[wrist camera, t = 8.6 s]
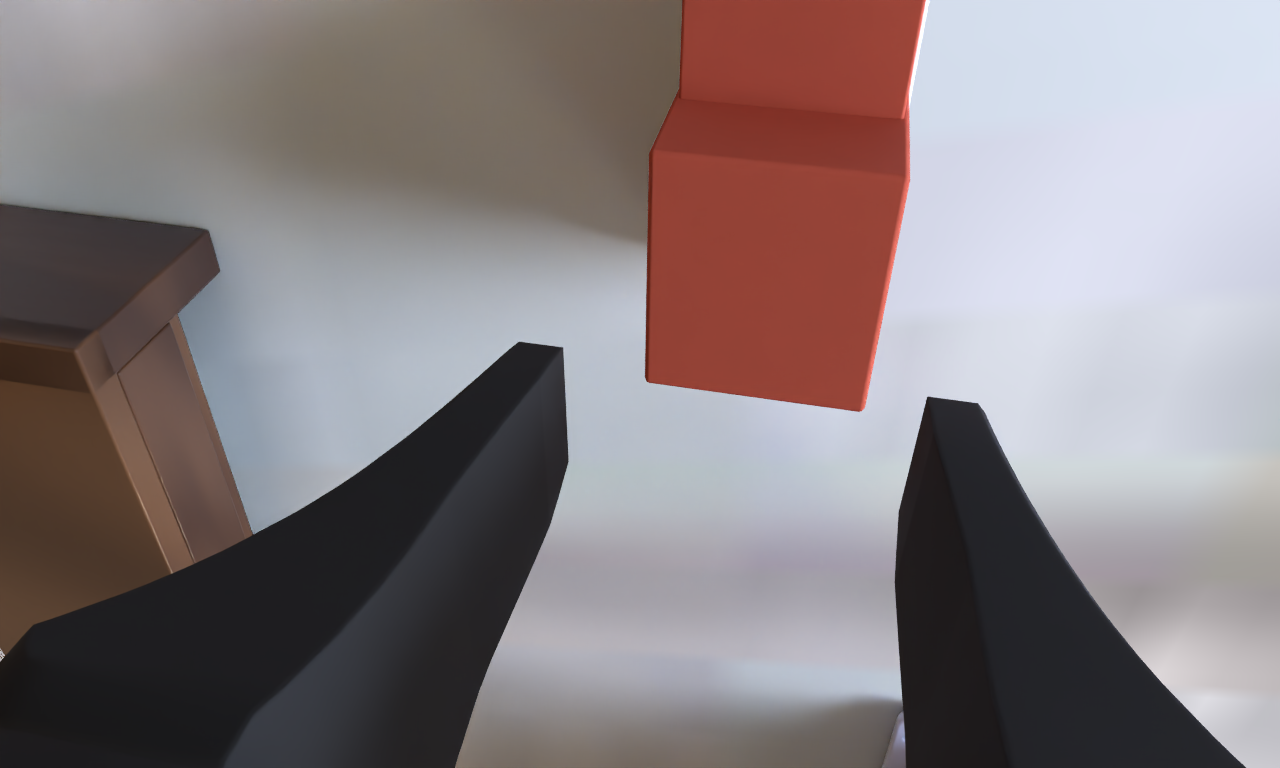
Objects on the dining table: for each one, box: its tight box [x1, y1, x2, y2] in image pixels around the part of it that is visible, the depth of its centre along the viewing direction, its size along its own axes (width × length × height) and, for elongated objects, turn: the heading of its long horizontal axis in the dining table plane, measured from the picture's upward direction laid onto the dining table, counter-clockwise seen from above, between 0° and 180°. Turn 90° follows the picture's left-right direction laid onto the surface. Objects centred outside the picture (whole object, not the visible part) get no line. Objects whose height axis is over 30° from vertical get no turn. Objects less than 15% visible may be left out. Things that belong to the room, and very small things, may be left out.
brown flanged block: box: [0, 205, 253, 656], centre depth 27 cm, size 14×7×5 cm, turn 179°
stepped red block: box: [645, 0, 929, 412], centre depth 17 cm, size 7×4×5 cm, turn 179°
